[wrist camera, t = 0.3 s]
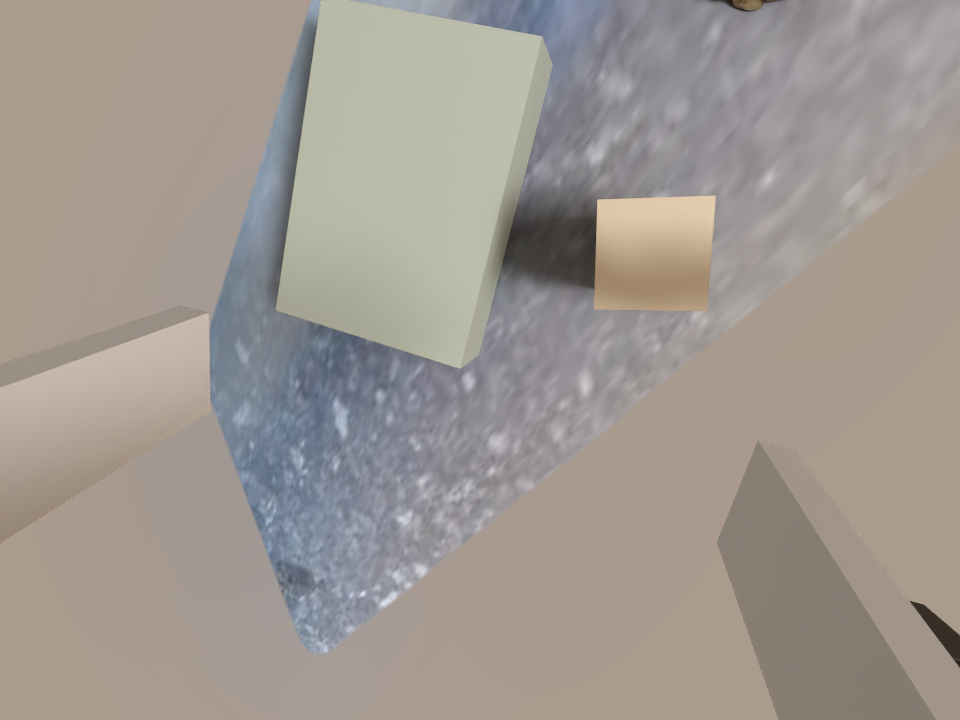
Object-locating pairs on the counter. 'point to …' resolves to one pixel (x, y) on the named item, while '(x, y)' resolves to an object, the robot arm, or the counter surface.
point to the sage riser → (409, 176)
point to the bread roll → (749, 4)
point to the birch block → (654, 253)
